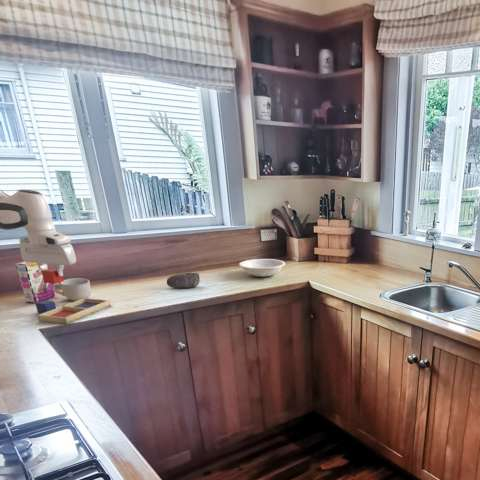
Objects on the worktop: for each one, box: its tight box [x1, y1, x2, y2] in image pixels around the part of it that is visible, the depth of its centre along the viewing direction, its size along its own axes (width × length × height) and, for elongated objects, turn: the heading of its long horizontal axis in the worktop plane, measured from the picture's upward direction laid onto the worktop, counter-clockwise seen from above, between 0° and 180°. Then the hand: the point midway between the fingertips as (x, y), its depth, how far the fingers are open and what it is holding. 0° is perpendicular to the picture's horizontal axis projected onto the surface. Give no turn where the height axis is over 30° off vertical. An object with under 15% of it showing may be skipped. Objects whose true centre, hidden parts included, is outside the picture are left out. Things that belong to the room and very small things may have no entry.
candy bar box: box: [15, 261, 56, 304], centre depth 197 cm, size 11×5×16 cm, turn 172°
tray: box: [37, 297, 112, 325], centre depth 185 cm, size 12×24×2 cm, turn 169°
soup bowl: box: [238, 258, 286, 278], centre depth 249 cm, size 24×24×7 cm
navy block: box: [34, 299, 57, 315], centre depth 184 cm, size 4×4×4 cm
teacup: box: [52, 277, 92, 302], centre depth 201 cm, size 14×11×8 cm
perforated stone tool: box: [166, 272, 201, 289], centre depth 222 cm, size 15×5×7 cm, turn 108°
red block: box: [41, 268, 65, 285], centre depth 175 cm, size 4×4×4 cm
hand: (53, 275), depth 175 cm, fingers closed on red block, 4 cm apart
